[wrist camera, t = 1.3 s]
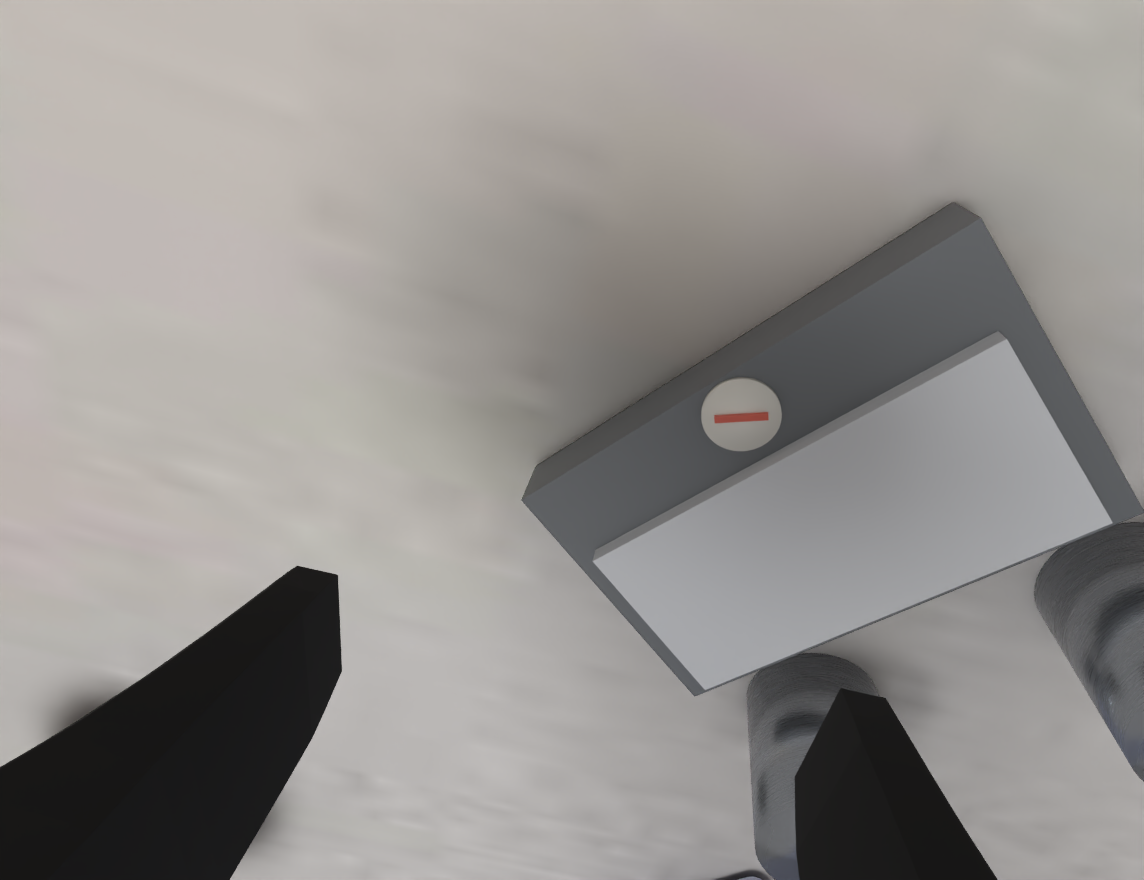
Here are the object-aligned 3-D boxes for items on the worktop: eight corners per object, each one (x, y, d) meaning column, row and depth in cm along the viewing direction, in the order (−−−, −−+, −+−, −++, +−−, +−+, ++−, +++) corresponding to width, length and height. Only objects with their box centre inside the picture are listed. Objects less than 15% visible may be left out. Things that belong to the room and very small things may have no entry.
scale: (1106, 472, 18) (1157, 524, 16) (695, 652, 22) (694, 710, 20) (953, 202, 15) (989, 223, 13) (535, 466, 20) (516, 510, 18)
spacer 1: (902, 719, 22) (949, 878, 18) (788, 759, 24) (805, 913, 20) (837, 634, 21) (870, 781, 17) (722, 682, 23) (724, 827, 19)
